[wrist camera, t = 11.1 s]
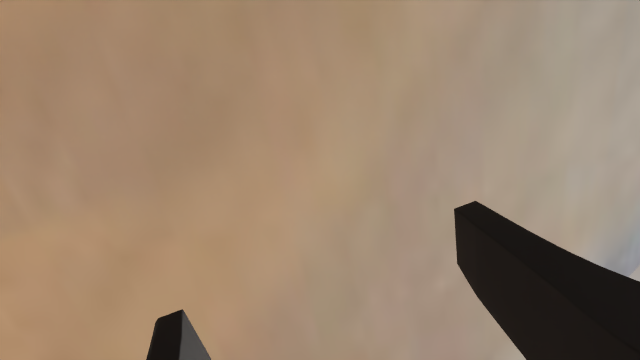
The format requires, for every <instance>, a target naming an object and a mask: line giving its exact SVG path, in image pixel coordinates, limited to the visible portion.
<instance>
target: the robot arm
mask: <svg viewBox="0 0 640 360" xmlns="http://www.w3.org/2000/svg"><path fill="white" fill-rule="evenodd" d="M454 214H455V231H456V249H457V264H458V265H459V267H460V269H461V271H462V272H463V274H464V276H465V277H466V279H467V281H468V282H469V284H470V286H471V287H472V289H473V291H474V292H475V294H476V295H477V297H478V298H479V299H480V301H481V302H482V303H483V305H484V306H485V307H486V309H487V310H488V311H489V312H490V314H491V315H492V316H493V318H494V319H495V320H496V321H497V323H498V324H499V325H500V327H501V328H502V329H503V330H504V332H505V333H506V334H507V335H508V337H509V338H510V339H511V340H512V342H513V343H514V344H515V346H516V347H517V348H518V349H519V351H520V352H521V353H522V354H523V356H524V357H525V358H526V360H640V282H639V281H636V280H634V279H631V278H629V277H626V276H624V275H621V274H618V273H616V272H613V271H611V270H608V269H606V268H603V267H601V266H599V265H596V264H594V263H592V262H590V261H588V260H585V259H583V258H581V257H579V256H577V255H575V254H572V253H570V252H568V251H566V250H564V249H562V248H560V247H558V246H556V245H554V244H553V243H551V242H549V241H547V240H545V239H543V238H541V237H539V236H537V235H535V234H534V233H532V232H530V231H528V230H526V229H524V228H523V227H521V226H519V225H517V224H515V223H514V222H512V221H510V220H508V219H507V218H505V217H503V216H501V215H500V214H498V213H496V212H494V211H493V210H491V209H489V208H487V207H486V206H484V205H482V204H480V203H478V202H477V201H474V202H471V203H469V204H466V205H463V206H461V207H458V208H455V209H454ZM146 360H211V358H210V356H209V354H208V353H207V351H206V349H205V347H204V346H203V344H202V342H201V340H200V339H199V337H198V335H197V333H196V332H195V330H194V328H193V326H192V325H191V323H190V321H189V319H188V318H187V316H186V314H185V312H184V311H183V309H182V310H179V311H177V312H174V313H171V314H169V315H166V316H163V317H160V318H158V319H157V321H156V323H155V327H154V331H153V336H152V340H151V344H150V348H149V352H148V355H147V359H146Z"/></svg>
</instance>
